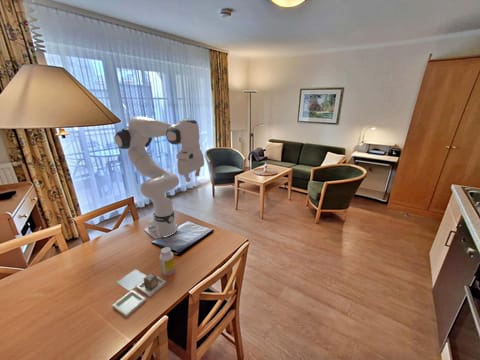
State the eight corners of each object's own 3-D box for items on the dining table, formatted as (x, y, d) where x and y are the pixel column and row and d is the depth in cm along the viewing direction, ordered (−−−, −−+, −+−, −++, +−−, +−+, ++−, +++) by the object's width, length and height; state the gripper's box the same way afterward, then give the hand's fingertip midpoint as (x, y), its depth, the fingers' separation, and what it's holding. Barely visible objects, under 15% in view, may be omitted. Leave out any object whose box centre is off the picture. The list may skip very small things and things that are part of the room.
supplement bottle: (177, 268, 111) (175, 247, 106) (170, 277, 105) (167, 255, 100) (166, 265, 112) (164, 244, 108) (158, 274, 106) (155, 252, 102)
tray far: (113, 308, 88) (112, 304, 88) (132, 292, 96) (132, 289, 95) (126, 318, 84) (125, 315, 84) (146, 301, 92) (145, 298, 91)
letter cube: (145, 287, 98) (143, 278, 96) (152, 281, 101) (150, 272, 100) (151, 290, 96) (149, 281, 94) (158, 284, 99) (157, 275, 98)
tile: (116, 283, 101) (116, 282, 100) (135, 270, 109) (135, 269, 109) (129, 292, 96) (129, 291, 96) (148, 277, 104) (148, 276, 104)
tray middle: (136, 289, 97) (136, 286, 97) (153, 276, 105) (152, 273, 104) (150, 297, 93) (149, 294, 93) (166, 284, 101) (165, 280, 100)
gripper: (196, 148, 117) (197, 172, 121) (174, 156, 98) (176, 184, 103) (206, 149, 115) (207, 173, 119) (186, 157, 97) (188, 185, 101)
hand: (193, 178), depth 111 cm, fingers open, 8 cm apart
